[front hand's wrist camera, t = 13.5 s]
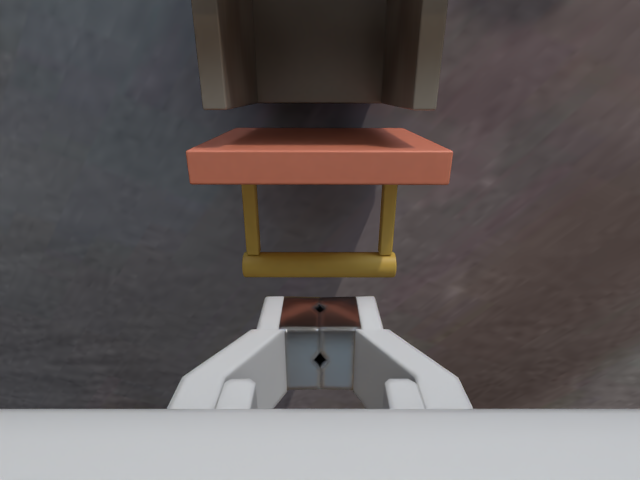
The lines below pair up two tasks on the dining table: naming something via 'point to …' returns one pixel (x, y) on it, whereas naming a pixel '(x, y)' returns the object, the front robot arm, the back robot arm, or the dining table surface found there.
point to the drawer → (319, 87)
